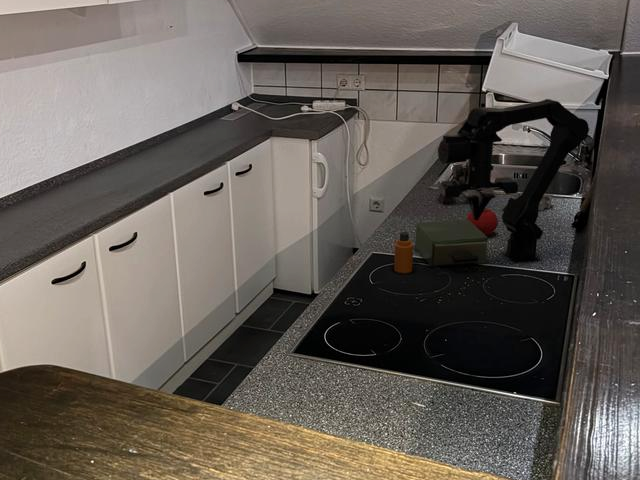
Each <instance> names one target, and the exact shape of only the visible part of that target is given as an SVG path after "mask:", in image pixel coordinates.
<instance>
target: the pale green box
mask: <svg viewBox="0 0 640 480" xmlns="http://www.w3.org/2000/svg"><path fill="white" fill-rule="evenodd" d="M415 225H416V227H415V248H416V250H417V251H418V252H419V253H420V255H421V256H422V257H423V258H424V259H425V261H426V262H427V263H428V265H429V266H430V267H431V268H435V267H447V266H461V265H475V264H486V262H487V258H486V259H485V261H484V262H471V263H457V264H443V265H435V264H434V248H435V244H439V243H453V242H468V241H486V242H487V243H488V236H487V235H484V234H483V233H482V232H481V231H480V230H479V229H478V228H477V227H476V226H474V225H473V224H472V223H471V222H470V221H469V220H467V219H457V220H443V221H442V220H441V221H440V220H439V221H426V222H416V223H415ZM487 248H488V244H487V245H486V252H488V251H487V250H488V249H487Z"/></svg>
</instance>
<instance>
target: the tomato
mask: <svg viewBox="0 0 640 480" xmlns="http://www.w3.org/2000/svg"><path fill="white" fill-rule="evenodd" d="M466 220H469V221H470V222H471V223H472V224H473V225H474V226H476V227H477V228H478V229H479V230H480V231H481V232H482V233H483V234H484V235H485V236H489V235H491V234H492V233H494V232H495V231H496V230H497V227H498V225H499V219H498V217H497V214H496V213H495V212H494V211H493V210H492V209H489V208H488V207H485V209H484V211H483V212H482V214H481V216H480V218H479V220H474V218H473V215H472V211H470V212H469V213H468V215H467V217H466Z"/></svg>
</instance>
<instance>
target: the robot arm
mask: <svg viewBox="0 0 640 480" xmlns="http://www.w3.org/2000/svg"><path fill="white" fill-rule="evenodd" d="M543 119H545V120H546V121H547V122H548V123H549V124H550V125H551V126H552V129H551V131H550V136H549V137H550V140H549V146H548V147H547V148H546V149H547V150H546V151H545V153H544V155H543V156H542V158H541V160H540V162H539V163H538V165H537V167H536V169H535V171H534V172H533V174H532V175H531V177H530V178H529V181H528V183H527V184H526V186H525V188H524V190H523V191H522V192H523V193H522V192H521V193H522V194H521V196H519V197H518V198H516V197H515V198H514V197H512V196H511V197H510V198H509V199H508V201H507V203H506V205H505V207H504V208H502V212H503V213H502V215H501V219H502V223H503V224H504V226H505V227H506V230H507V232H510V233H509V239H507V243H506V251H505V255H507V256H508V257H510V259H511V260H512V261H514V262H528V261H539V257H538V256H537V255H536V254H537V245H538V240H541V238H542V235H543V233H544V230H543V229H541V227H539V225H538V224H537V220H538V217H539V212H540V210H539V203H540V201H541V199H542V197H543V196H544V195H545V194H546V193H547V190H548V189H549V188H550V185H551V184H552V182H553V180H554V178H555V177H556V176H557V173H558V172H559V170H560V168H561V167H562V165H563V163H564V161H565V159H566V158H567V156H568V155H569V154H570V153H571V152H572V151H574V150H575V149H577V148H578V147H579V146H580V145H581V144H582V143H583V142H584V141H585V139H586V138H587V136H588V134H589V132H590V128H589V127H590V126H589V123H588V121H587V120H586V119H585V118H581V117H578V116H577V115H576V114H574V113H573V112H571V111H570V110H569V109H567V108H566V107H565V106H564V105H563V104H562V103H561V102H560V101H558V100H554V99H551V98H545V99H543V100H540V101H535V102H534V101H533V102H529V103H524V104H518V105H513V106H509V107H499V108H498V107H489V106H488V107H487V106H486V107H484V106H483V107H482V106H481V107H479V106H477V107H474V108H473V109H471V110H470V112H469V113H468V115H467V119H466V120H465V122H464V123H463V124H462V126H461V127H460V129H458V131H457V132H456V134H455V135H449V134H446V135H445V134H444V135H442V140H441V141H440V142H439V145H438V147H437V157H438V160H439V162H440V163H441V164H442V165H446V164H453V165H452V177H453V179H456V178H459V181H461V182H463V183H464V184H458V183H457V182H456V181H452V180H441V181H440V183H439V185H438V192H439V194H440V193H441V194H442V195H443V196H444V197H446V198H452V197H453V198H459V197H460V196H463V197H464V198H465V200H466V199H467V200H468V204H469V207H470V210H471V211H472V215H473V218H474V220H479V218H480V216H481V214H482V212H483V211H484V209H485V208H487V206H488V204H489V203H490V202H491V200H492V199H495V198H496V194H494V191H497V190H498V191H501V190H502V192H503V193H504V194H506V195H513V194H514V195H515V194H517V193H519V183H518V182H517V181H516V180H514V179H512V178H511V177H509V176H507V177H496V178H495V179H494V181H493V182H492V180H491V179H492V171H494V165H493V153H494V143H500V142H502V141H503V139H502V138H501V137H500V136H499V135H498V133H499V132H501V131H503V130H504V129H506V128H507V127H510V126H514V125H518V124H522V123H527V122H534V121H539V120H543ZM473 131H474V132H473ZM458 163H465V166H464V167H463V164H458ZM471 211H470V212H471Z"/></svg>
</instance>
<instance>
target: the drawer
mask: <svg viewBox="0 0 640 480" xmlns="http://www.w3.org/2000/svg"><path fill="white" fill-rule="evenodd" d="M486 245H487V246H488V241H487V242H486V241H468V242H453V243H439V244H435V248H434V264H435V265H443V264H457V263H471V262H484V261H485V259H486V260H487V251H486Z"/></svg>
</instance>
